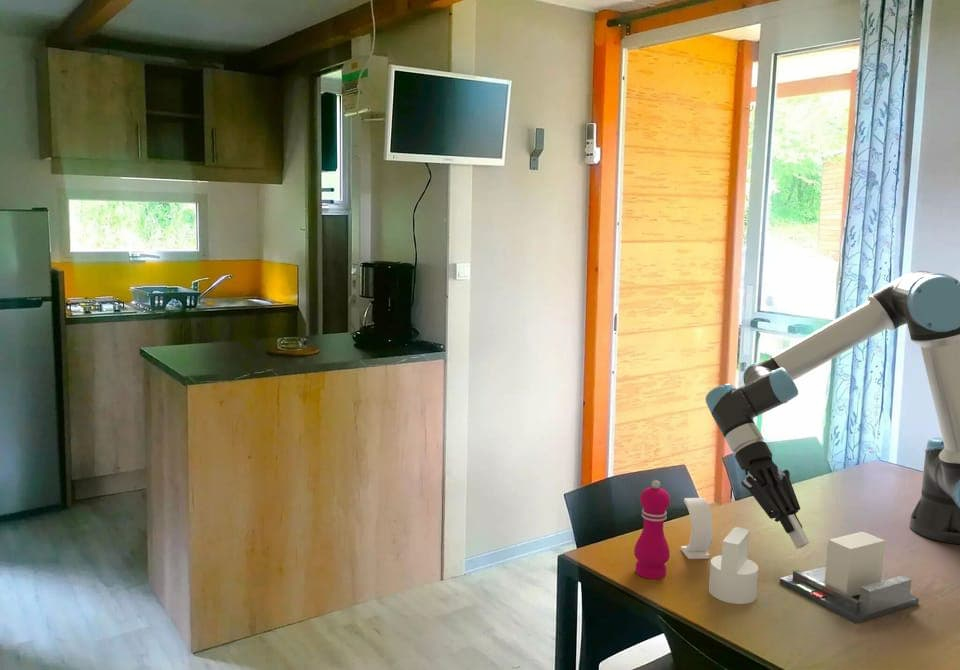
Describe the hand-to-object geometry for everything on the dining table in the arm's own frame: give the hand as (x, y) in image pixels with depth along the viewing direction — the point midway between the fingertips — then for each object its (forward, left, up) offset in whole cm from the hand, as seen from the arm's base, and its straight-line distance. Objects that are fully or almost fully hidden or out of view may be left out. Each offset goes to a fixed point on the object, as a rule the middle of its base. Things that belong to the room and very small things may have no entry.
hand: (803, 545), depth 170 cm
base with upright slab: (+21, +1, -6) cm, 22 cm away
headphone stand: (+15, -16, -6) cm, 22 cm away
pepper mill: (+30, -13, -6) cm, 33 cm away
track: (0, +11, -6) cm, 13 cm away
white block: (0, +12, -4) cm, 13 cm away
